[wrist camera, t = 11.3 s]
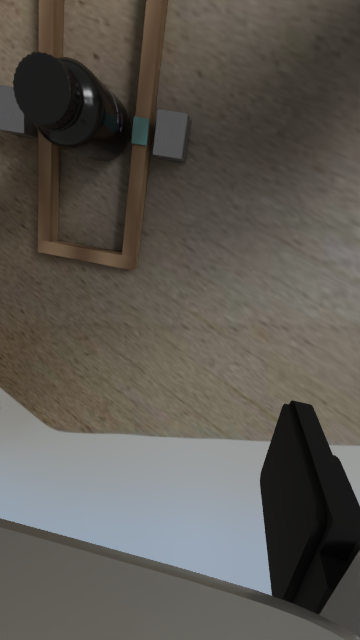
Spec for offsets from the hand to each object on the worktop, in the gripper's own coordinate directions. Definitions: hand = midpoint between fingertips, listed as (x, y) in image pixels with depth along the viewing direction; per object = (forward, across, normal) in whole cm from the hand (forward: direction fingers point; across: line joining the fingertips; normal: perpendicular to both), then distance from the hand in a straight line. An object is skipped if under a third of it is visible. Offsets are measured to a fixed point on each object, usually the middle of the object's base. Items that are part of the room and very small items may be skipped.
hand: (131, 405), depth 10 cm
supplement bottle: (+31, +14, -12) cm, 36 cm away
